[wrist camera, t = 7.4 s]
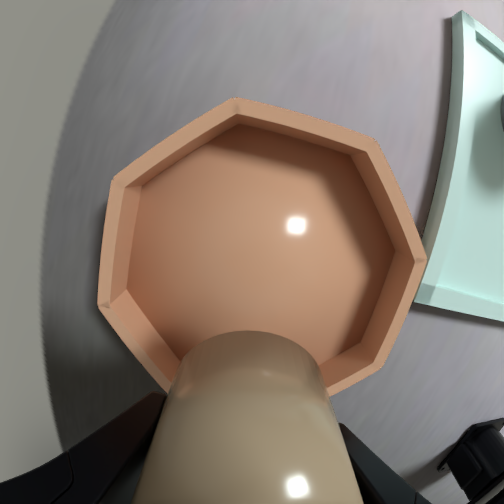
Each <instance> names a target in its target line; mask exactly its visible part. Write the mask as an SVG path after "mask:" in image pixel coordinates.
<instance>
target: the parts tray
mask: <svg viewBox="0 0 504 504" xmlns="http://www.w3.org/2000/svg"><path fill="white" fill-rule="evenodd" d="M503 95H504V43H503V42H502V41H501V40H500V39H499V38H498V37H496V36H495V35H494V34H493V33H492V32H490V31H489V30H488V29H487V28H485V27H484V26H483V25H482V24H480V23H479V22H478V21H476V20H475V19H474V18H472V17H471V16H470V15H468V14H467V13H465V12H464V11H462V10H461V11H459V12H458V13H456V14H455V15H453V16H452V75H451V90H450V101H449V111H448V119H447V127H446V134H445V141H444V147H443V153H442V158H441V163H440V169H439V173H438V178H437V183H436V187H435V192H434V196H433V200H432V204H431V208H430V212H429V216H428V219H427V223H426V226H425V230H424V233H423V237H422V240H421V242H422V245H423V248H424V251H425V253H426V256H427V259H426V260H427V263H426V266H425V269H424V272H423V274H422V277H421V280H420V283H419V285H418V288H417V291H416V293H415V296H414V298H413V302H416V303H421V304H425V305H430V306H434V307H439V308H443V309H448V310H452V311H457V312H461V313H466V314H471V315H475V316H480V317H485V318H489V319H494V320H499V321H504V131H503V127H502V122H501V114H500V107H501V100H502V97H503Z"/></svg>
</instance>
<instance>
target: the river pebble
mask: <svg viewBox="0 0 504 504" xmlns="http://www.w3.org/2000/svg"><path fill="white" fill-rule="evenodd" d="M131 504H363V500H362V497H361V494H360V490H359V487H358V484H357V481H356V477H355V474H354V471H353V468H352V465H351V461H350V458H349V455H348V452H347V449H346V446H345V443H344V439H343V436H342V433H341V430H340V427H339V424H338V421H337V418H336V415H335V412H334V409H333V406H332V403H331V400H330V397H329V394H328V391H327V388H326V385H325V382H324V379H323V376H322V373H321V370H320V368H319V366H318V364H317V362H316V361H315V359H314V358H313V357H312V355H311V354H310V353H309V352H308V351H307V350H306V349H304V348H303V347H301V346H300V345H299V344H297V343H295V342H294V341H292V340H290V339H288V338H285V337H282V336H280V335H276V334H273V333H269V332H262V331H249V330H246V331H234V332H228V333H223V334H220V335H216V336H213V337H211V338H209V339H206V340H204V341H203V342H201V343H199V344H197V345H196V346H195V347H193V348H192V349H191V350H190V351H189V352H188V353H187V354H186V355H185V356H184V357H183V359H182V360H181V362H180V363H179V366H178V368H177V370H176V373H175V375H174V378H173V381H172V384H171V386H170V389H169V392H168V395H167V398H166V401H165V403H164V406H163V409H162V412H161V415H160V417H159V420H158V423H157V426H156V429H155V432H154V434H153V437H152V440H151V443H150V446H149V449H148V452H147V455H146V458H145V461H144V464H143V467H142V470H141V473H140V476H139V479H138V482H137V485H136V488H135V491H134V494H133V497H132V501H131Z"/></svg>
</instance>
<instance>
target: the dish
mask: <svg viewBox="0 0 504 504" xmlns="http://www.w3.org/2000/svg"><path fill="white" fill-rule="evenodd" d="M374 140H375V139H374V138H371V137H369V136H366V135H364V134H361V133H358V132H356V131H353V130H350V129H348V128H345V127H342V126H339V125H336V124H333V123H330V122H327V121H324V120H321V119H318V118H315V117H312V116H308V115H305V114H302V113H298V112H295V111H291V110H288V109H284V108H280V107H276V106H273V105H269V104H265V103H260V102H256V101H252V100H248V99H243V98H238V97H235V100H234V98H231V99H229V100H227V101H226V102H224V103H222V104H220V105H219V106H217V107H215V108H213V109H212V110H210V111H208V112H207V113H205V114H203V115H202V116H200V117H198V118H197V119H195V120H194V121H192V122H190V123H189V124H187V125H186V126H184V127H183V128H181V129H180V130H178V131H176V132H175V133H173V134H172V135H170V136H169V137H167V138H166V139H165V140H163V141H162V142H160V143H159V144H157V145H156V146H154V147H153V148H152V149H150V150H149V151H147V152H146V153H145V154H143V155H142V156H140V157H139V158H138V159H136V160H135V161H134V162H132V163H131V164H130V165H128V166H127V167H126V168H124V169H123V170H122V171H121V172H119V173H118V174H117V175H115V176H114V177H113V178H114V179H112V182H111V187H110V193H109V198H108V204H107V211H106V217H105V224H104V232H103V240H102V249H101V259H100V270H99V283H98V302H97V305H99V307H98V308H99V309H100V311H101V312H102V313H103V315H104V316H105V318H106V319H107V320H108V322H109V323H110V325H111V326H112V327H113V329H114V330H115V331H116V333H117V334H118V335H119V337H120V338H121V339H122V341H123V342H124V343H125V344H126V346H127V347H128V348H129V349H130V351H131V352H132V353H133V354H134V356H135V357H136V358H137V359H138V361H139V362H140V363H141V364H142V365H143V367H144V368H145V369H146V370H147V371H148V372H149V374H150V375H151V376H152V377H153V378H154V379H155V380H156V382H157V383H158V384H159V385H160V386H161V387H162V388H163V389H164V390H165V392H166V393H167V394H168V392H169V389H170V386H171V384H172V381H173V378H174V375H175V373H176V370H177V368H178V366H179V363H180V362H181V360H182V359H183V357H184V356H185V355H186V354H187V353H188V352H189V351H190V350H191V349H192V348H193V347H195V346H196V345H197V344H199V343H201V342H203V341H204V340H206V339H209V338H211V337H213V336H216V335H220V334H223V333H228V332H234V331H246V330H249V331H262V332H269V333H273V334H276V335H280V336H282V337H285V338H288V339H290V340H292V341H294V342H295V343H297V344H299V345H300V346H301V347H303V348H304V349H306V350H307V351H308V352H309V353H310V354H311V355H312V357H313V358H314V359H315V361H316V362H317V364H318V366H319V368H320V370H321V373H322V376H323V379H324V382H325V385H326V388H327V391H328V394H329V397H330V396H332V395H334V394H336V393H338V392H340V391H342V390H344V389H346V388H347V387H349V386H351V385H353V384H355V383H357V382H359V381H360V380H362V379H364V378H366V377H367V376H369V375H371V374H373V373H374V372H376V371H378V370H380V369H381V368H380V367H383V365H384V363H385V361H386V359H387V357H388V355H389V353H390V351H391V349H392V347H393V345H394V342H395V340H396V338H397V336H398V334H399V332H400V329H401V327H402V325H403V322H404V320H405V318H406V316H407V313H408V311H409V308H410V306H411V303H412V301H413V298H414V296H415V293H416V291H417V288H418V285H419V283H420V280H421V277H422V274H423V272H424V269H425V266H426V263H427V260H426V259H427V256H426V253H425V251H424V248H423V245H422V242H421V239H420V236H419V234H418V231H417V228H416V226H415V223H414V221H413V218H412V216H411V213H410V211H409V208H408V206H407V203H406V201H405V199H404V196H403V194H402V192H401V190H400V187H399V185H398V183H397V181H396V179H395V176H394V174H393V172H392V170H391V168H390V166H389V164H388V162H387V160H386V158H385V156H384V154H383V152H382V150H381V148H380V146H379V144H378V142H377V141H374Z"/></svg>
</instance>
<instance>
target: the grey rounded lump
mask: <svg viewBox="0 0 504 504" xmlns="http://www.w3.org/2000/svg"><path fill="white" fill-rule="evenodd" d="M500 114H501V122H502V127H503V131H504V95H503V97H502V100H501V107H500Z"/></svg>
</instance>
